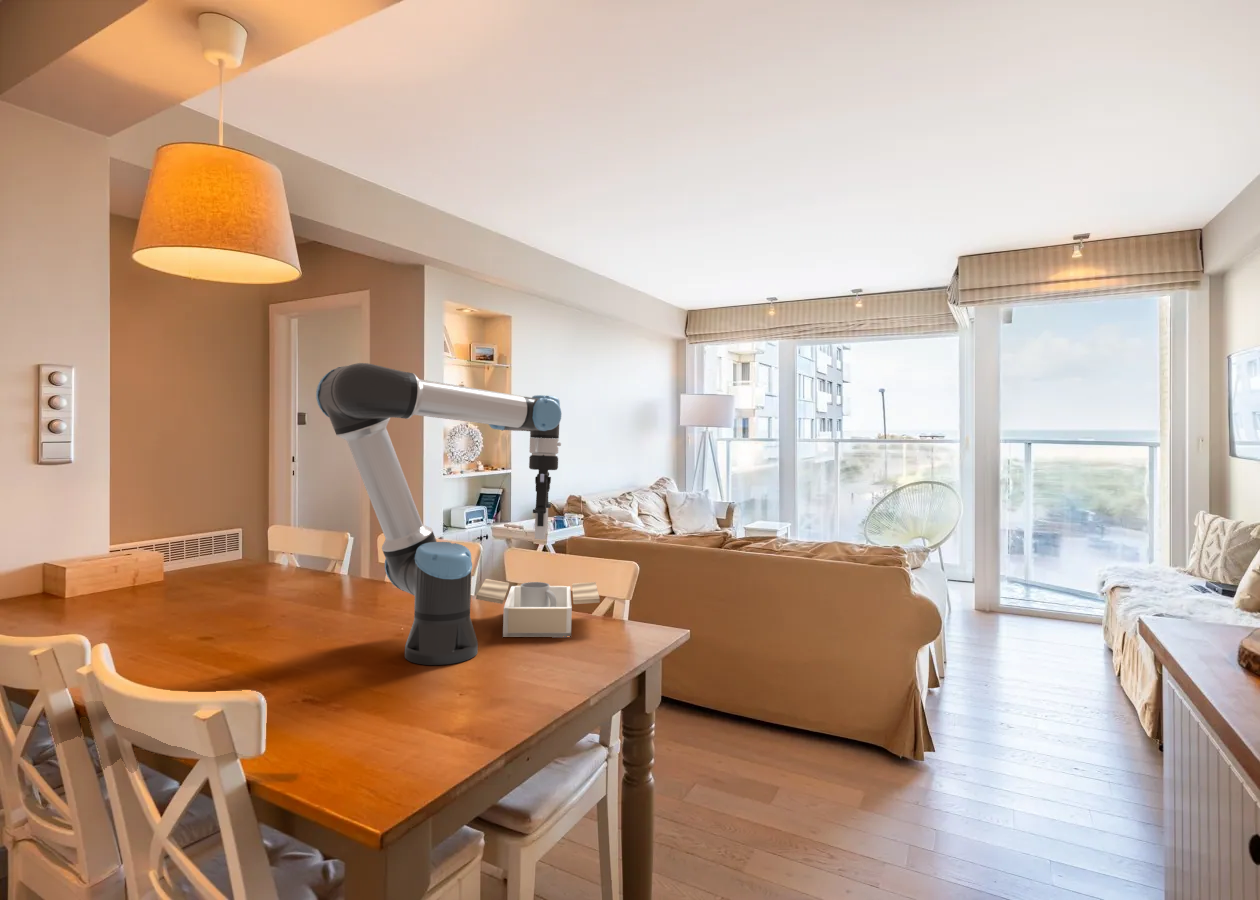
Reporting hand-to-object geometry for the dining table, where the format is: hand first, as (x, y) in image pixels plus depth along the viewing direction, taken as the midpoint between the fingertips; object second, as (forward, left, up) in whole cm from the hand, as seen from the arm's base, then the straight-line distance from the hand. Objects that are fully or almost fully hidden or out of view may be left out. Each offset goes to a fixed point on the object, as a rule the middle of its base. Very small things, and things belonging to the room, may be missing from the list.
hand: (541, 535), depth 174 cm
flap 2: (-5, -12, -13) cm, 18 cm away
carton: (-5, 0, -22) cm, 22 cm away
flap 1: (-5, +11, -13) cm, 18 cm away
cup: (-6, 0, -21) cm, 22 cm away
